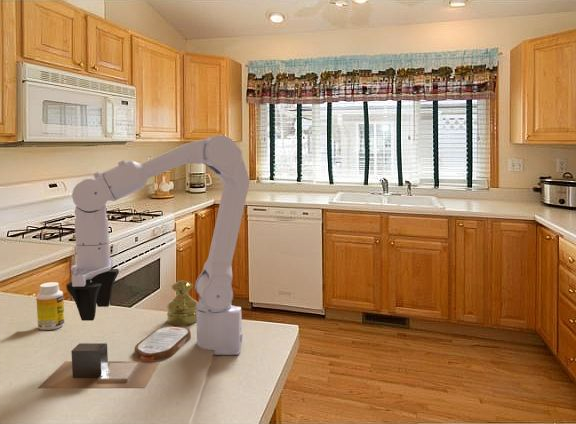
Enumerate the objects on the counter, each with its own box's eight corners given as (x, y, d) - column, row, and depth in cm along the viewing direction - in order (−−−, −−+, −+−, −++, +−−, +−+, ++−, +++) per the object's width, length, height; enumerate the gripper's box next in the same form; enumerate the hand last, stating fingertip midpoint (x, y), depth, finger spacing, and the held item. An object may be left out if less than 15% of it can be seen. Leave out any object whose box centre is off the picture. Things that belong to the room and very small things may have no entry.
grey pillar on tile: (138, 365, 85) (137, 340, 84) (127, 381, 79) (126, 354, 78) (83, 366, 85) (82, 340, 84) (69, 382, 79) (67, 354, 78)
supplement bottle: (61, 330, 105) (58, 287, 104) (34, 331, 104) (32, 288, 103) (67, 321, 111) (65, 280, 109) (42, 323, 109) (39, 281, 108)
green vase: (200, 324, 110) (199, 283, 108) (168, 327, 107) (167, 286, 106) (195, 314, 116) (194, 276, 115) (165, 317, 114) (164, 278, 113)
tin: (125, 364, 88) (166, 371, 87) (126, 348, 88) (166, 355, 86) (162, 334, 103) (197, 340, 101) (162, 321, 102) (197, 326, 101)
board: (160, 367, 87) (160, 361, 87) (145, 394, 77) (144, 387, 77) (65, 367, 87) (65, 361, 86) (37, 394, 77) (37, 388, 77)
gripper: (86, 236, 93) (89, 300, 94) (52, 250, 78) (56, 327, 80) (121, 236, 93) (124, 300, 94) (94, 250, 78) (97, 326, 80)
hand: (96, 312), depth 87 cm, fingers open, 7 cm apart
